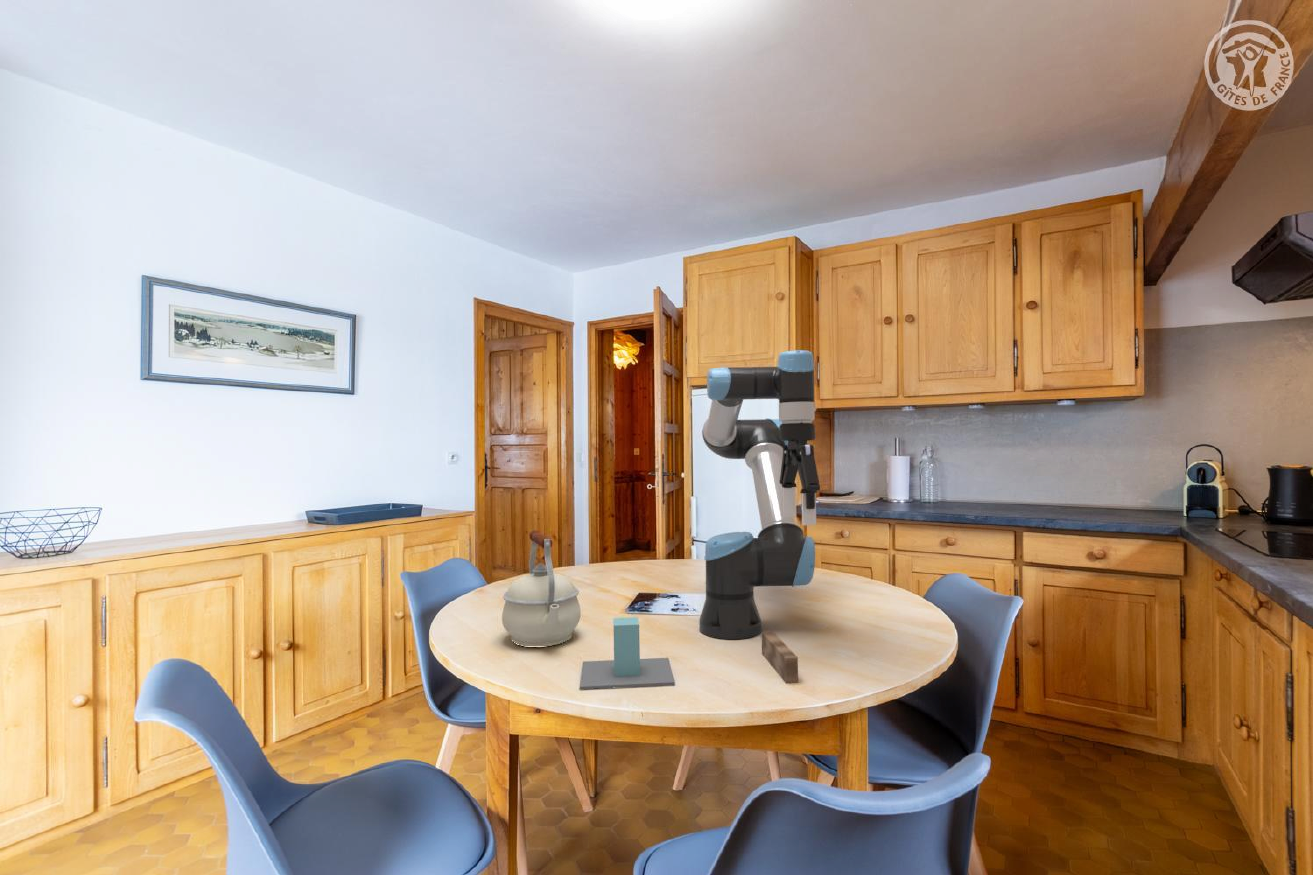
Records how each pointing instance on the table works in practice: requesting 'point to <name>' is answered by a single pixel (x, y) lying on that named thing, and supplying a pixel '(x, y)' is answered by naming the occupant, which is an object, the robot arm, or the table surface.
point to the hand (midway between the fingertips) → (798, 520)
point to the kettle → (541, 602)
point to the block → (626, 647)
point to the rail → (780, 657)
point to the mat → (603, 676)
